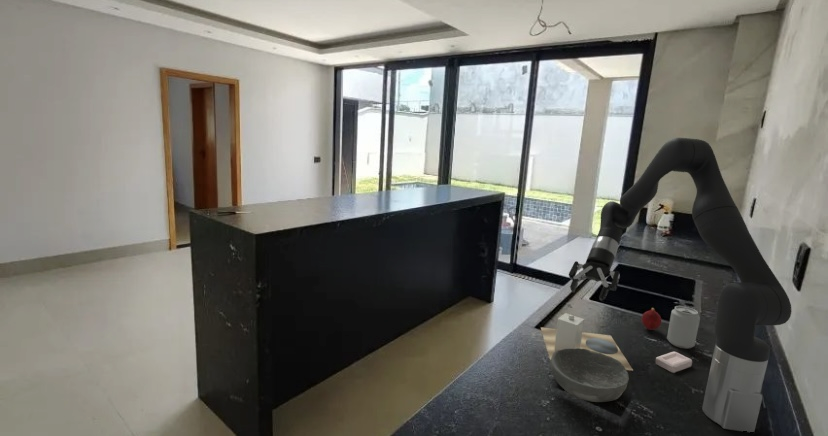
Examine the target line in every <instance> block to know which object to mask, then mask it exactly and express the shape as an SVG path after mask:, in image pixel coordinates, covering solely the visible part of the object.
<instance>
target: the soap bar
mask: <svg viewBox="0 0 828 436" xmlns="http://www.w3.org/2000/svg"><path fill="white" fill-rule="evenodd" d="M654 361H655V365H657V366H659V367H661V368H662V369H665V370H667V371H668V372H670V373H673V374H675V373H677V372H681V371H682V370H685V369H688V368H691V367H692V364H693V360H692V358H689V357H687V356H685V355H683V354H681V353H679V352H677V351H671V352H668V353H665V354H662V355H660V356H657V357H655V360H654Z"/></svg>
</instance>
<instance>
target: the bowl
mask: <svg viewBox="0 0 828 436" xmlns="http://www.w3.org/2000/svg"><path fill="white" fill-rule="evenodd" d="M550 371H551V374H552V375H553V378H554V380H555V381H556V383H558V385H559V387H561V388H562V389H564V391H565V392H566V393H568V394H569V395H571V396H573V397H574V398H577V399H580V400H583V401H587V402H592V403H594V402H595V403H605V402H613V401H616V400H618V399H619V398H620V397H621V396H622V394H623V393H624V392H625V391H626V389H627V388H628V382H629V380H630V378H629V372H628V370H626V369H625V367H624V366H623V365H622V364H621V362H619V361H618V360H616V359H614V358H612V357H610V356H606V355H604V354H601V353H597V352H594V351H590V350H587V349H579V348H577V349H562V350H558V351H555V352H554V353H553V355H552V357H551V360H550Z"/></svg>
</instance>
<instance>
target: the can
mask: <svg viewBox="0 0 828 436" xmlns="http://www.w3.org/2000/svg"><path fill="white" fill-rule="evenodd" d="M700 320H701V317H700V315H699V312H698V310H696V309H694V308H692V307H688V306H685V305H676V306H674V309H672V310H671V313H670V318H669V324H668V329H667V330H668V331H667V335H666V339H667V341H668V342H669V343H670V344H671V345H673V346H674V347H677V348H680V349H691V348H694V347H696V346H695V345H696V340H697V334H698V330H699V325H700Z"/></svg>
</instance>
